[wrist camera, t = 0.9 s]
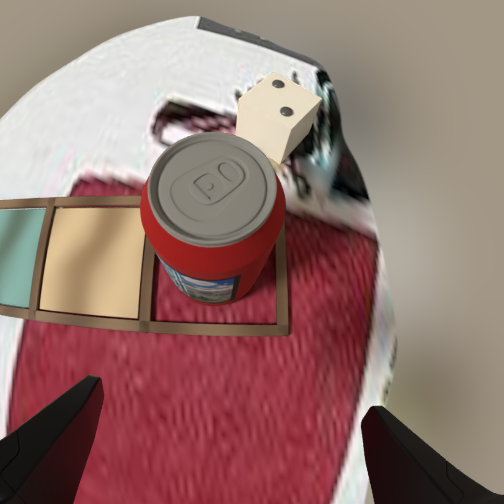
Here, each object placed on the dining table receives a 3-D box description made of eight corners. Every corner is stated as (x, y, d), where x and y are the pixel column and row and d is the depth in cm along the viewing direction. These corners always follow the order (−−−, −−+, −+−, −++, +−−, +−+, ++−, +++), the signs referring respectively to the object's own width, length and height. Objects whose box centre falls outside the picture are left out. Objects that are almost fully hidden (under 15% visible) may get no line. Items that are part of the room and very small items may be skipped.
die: (279, 164, 27) (291, 128, 23) (235, 136, 28) (239, 97, 23) (308, 133, 29) (322, 97, 24) (266, 108, 30) (274, 70, 25)
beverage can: (152, 260, 24) (102, 179, 12) (218, 206, 26) (221, 99, 14) (211, 327, 22) (203, 299, 11) (277, 266, 24) (326, 190, 13)
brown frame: (283, 202, 26) (283, 200, 26) (287, 335, 23) (288, 335, 22) (-20, 203, 23) (-22, 201, 23) (-41, 306, 20) (-43, 305, 20)
